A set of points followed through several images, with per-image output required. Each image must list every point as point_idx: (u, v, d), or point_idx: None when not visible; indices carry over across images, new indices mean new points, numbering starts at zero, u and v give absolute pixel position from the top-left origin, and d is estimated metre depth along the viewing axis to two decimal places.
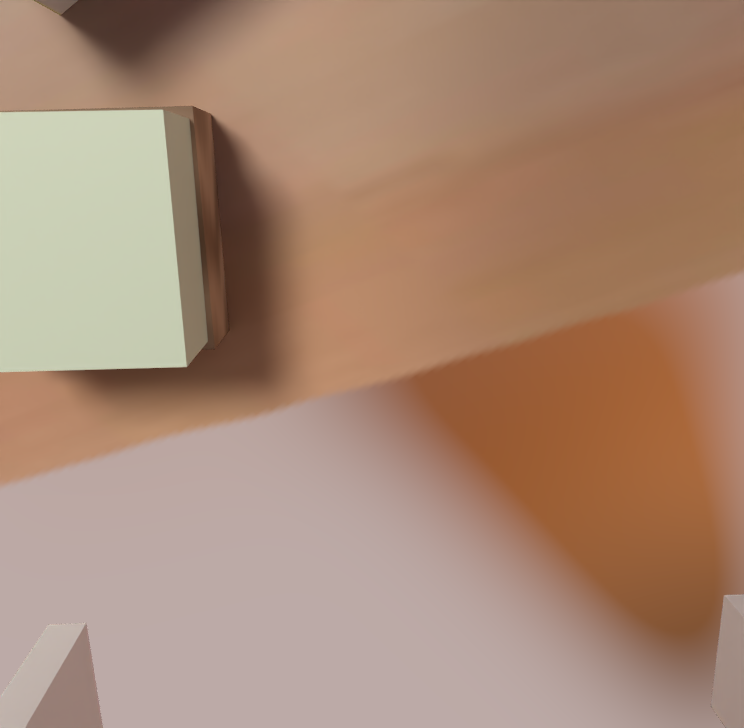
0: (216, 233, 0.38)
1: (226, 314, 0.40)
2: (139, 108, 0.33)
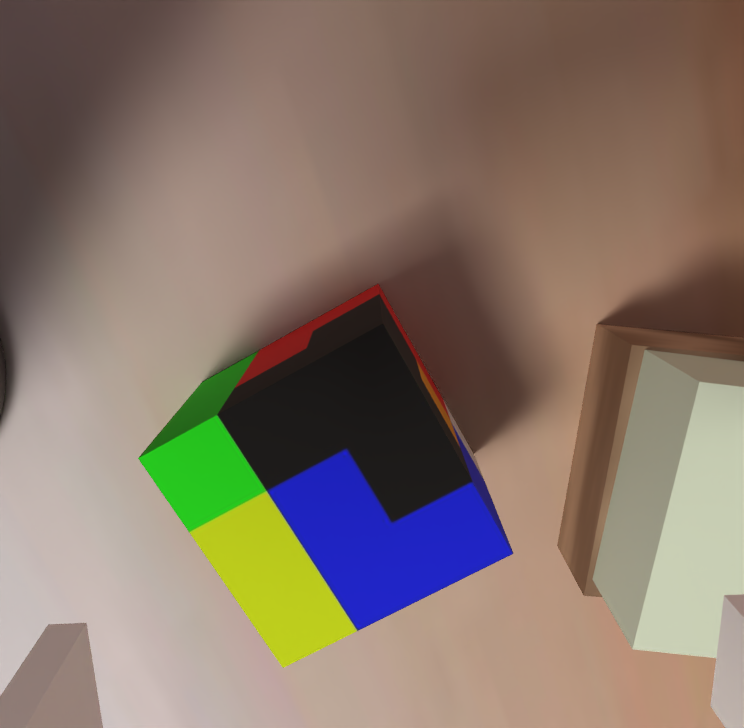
0: (737, 341, 0.33)
1: None
2: (621, 401, 0.30)
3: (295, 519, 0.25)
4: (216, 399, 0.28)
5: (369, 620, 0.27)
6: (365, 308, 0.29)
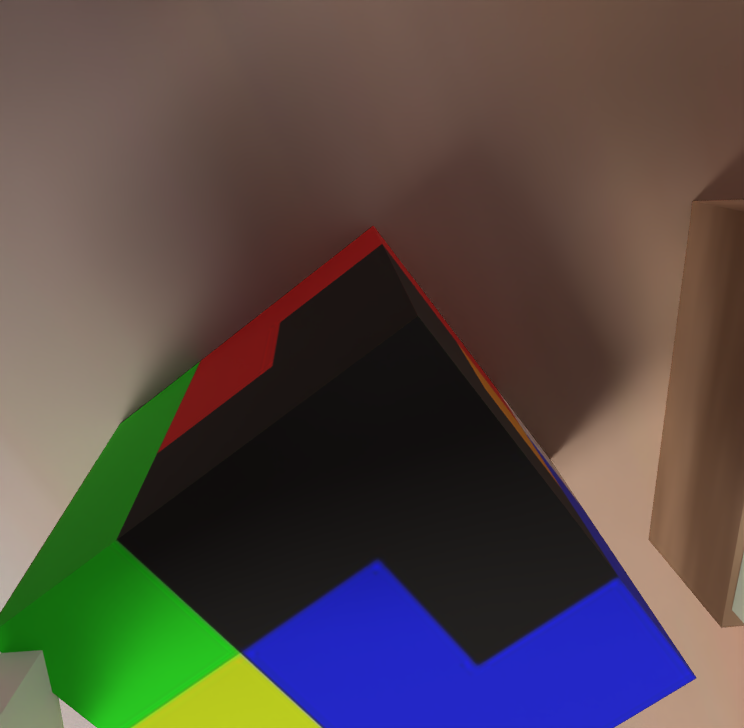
0: None
1: None
2: None
3: (303, 689, 0.14)
4: (127, 480, 0.15)
5: None
6: (365, 275, 0.16)
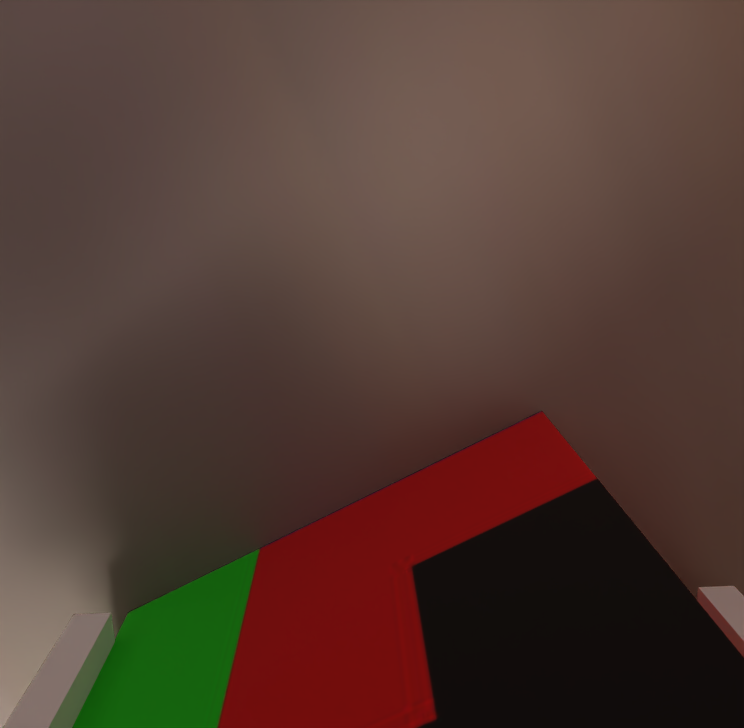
0: None
1: None
2: None
3: None
4: None
5: None
6: (594, 552, 0.10)
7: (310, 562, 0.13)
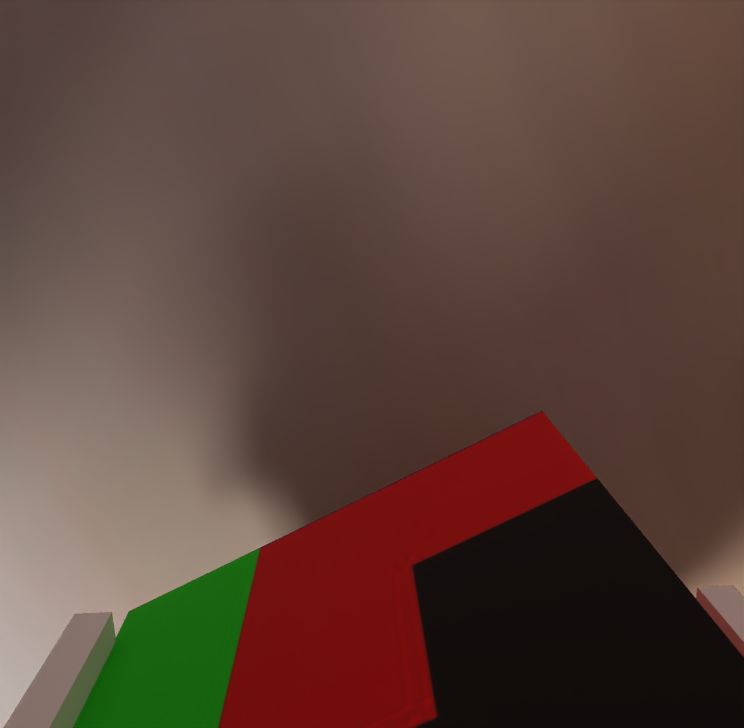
0: None
1: None
2: None
3: None
4: None
5: None
6: (594, 552, 0.10)
7: (311, 561, 0.13)
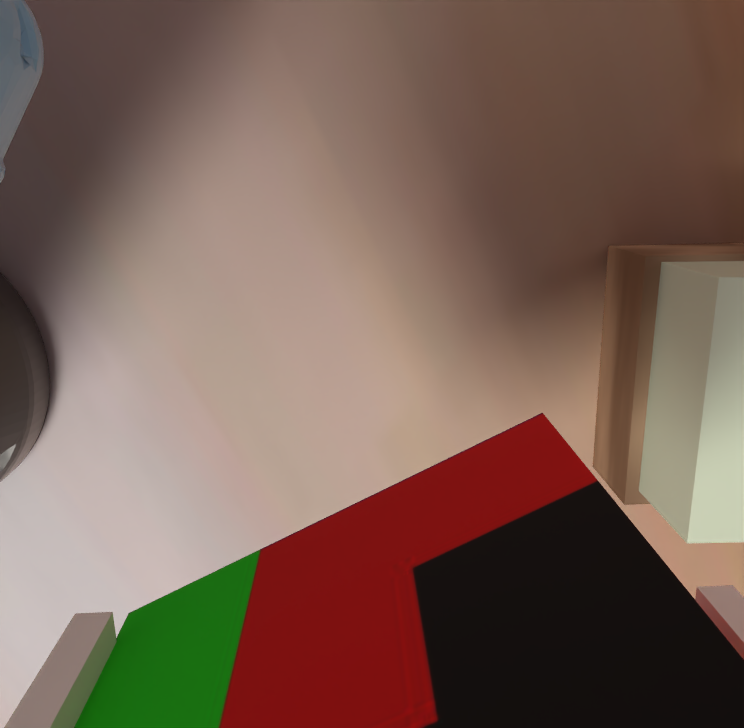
0: None
1: None
2: (641, 312, 0.31)
3: None
4: None
5: None
6: (594, 555, 0.10)
7: (311, 563, 0.13)
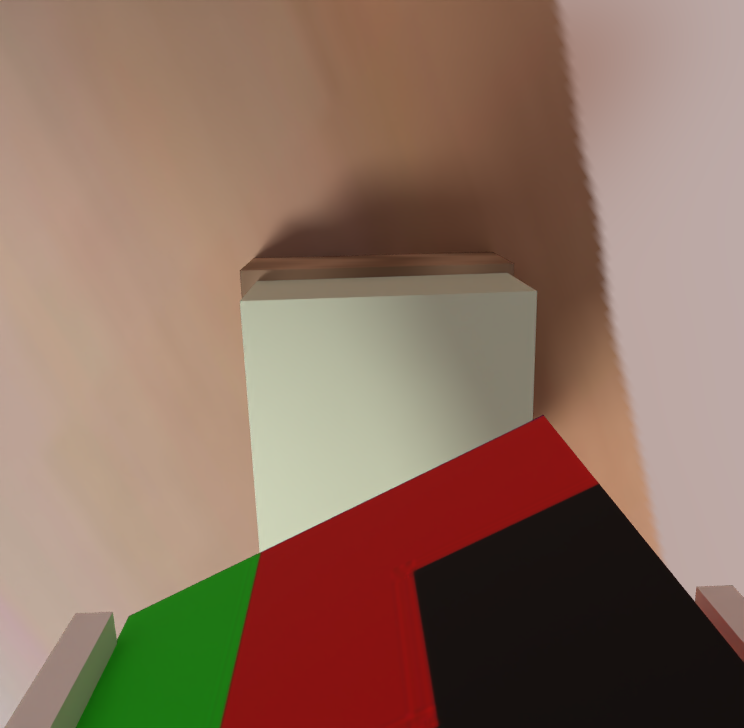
0: (380, 258, 0.34)
1: (474, 253, 0.35)
2: None
3: None
4: None
5: None
6: (596, 559, 0.10)
7: (311, 566, 0.13)
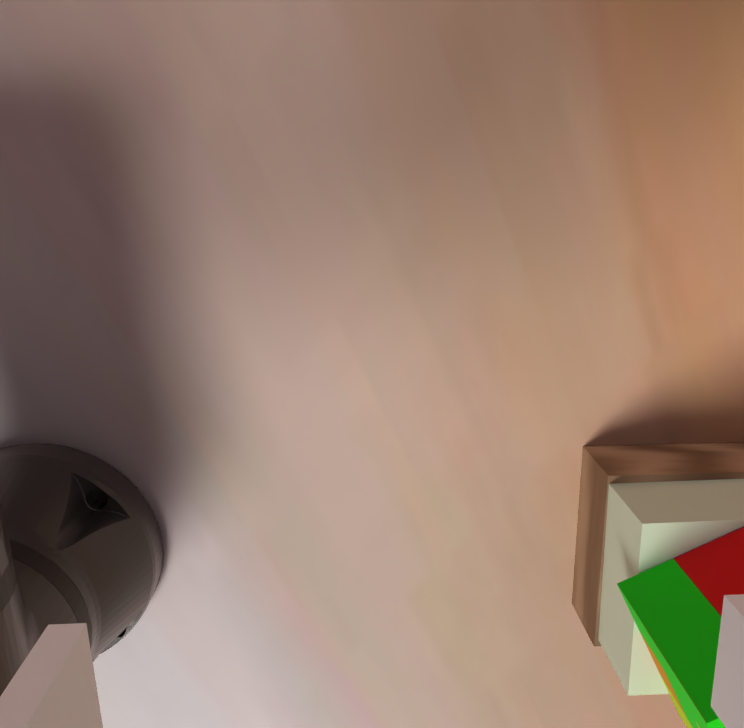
0: (685, 452, 0.45)
1: None
2: (605, 513, 0.43)
3: None
4: None
5: None
6: None
7: (710, 564, 0.36)
